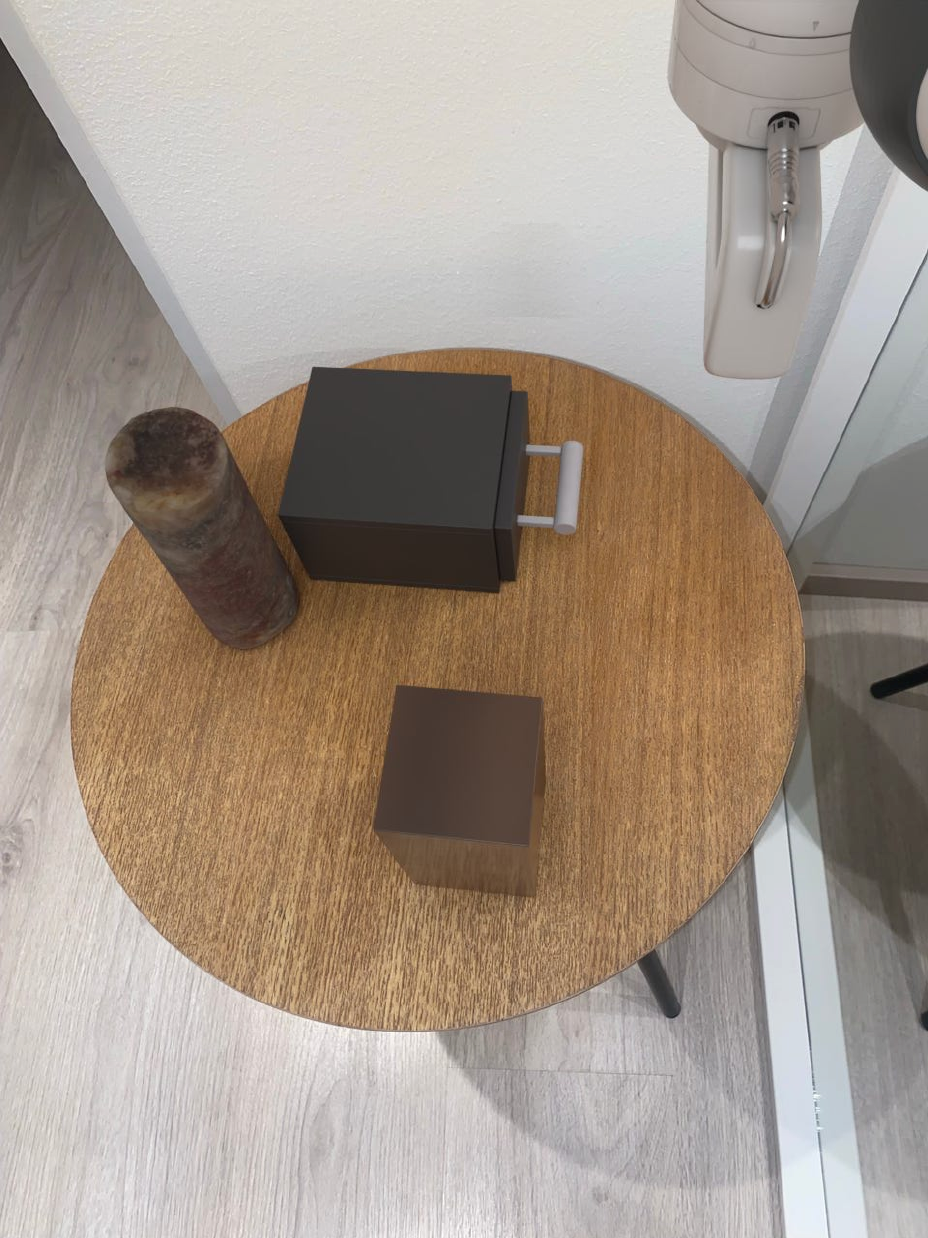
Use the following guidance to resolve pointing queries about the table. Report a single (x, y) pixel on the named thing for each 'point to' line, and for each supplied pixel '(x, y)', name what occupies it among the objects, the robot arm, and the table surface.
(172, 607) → the table surface
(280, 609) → the brown cylinder
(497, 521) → the drawer
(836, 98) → the robot arm
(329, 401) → the dark box sleeve
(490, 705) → the stand
